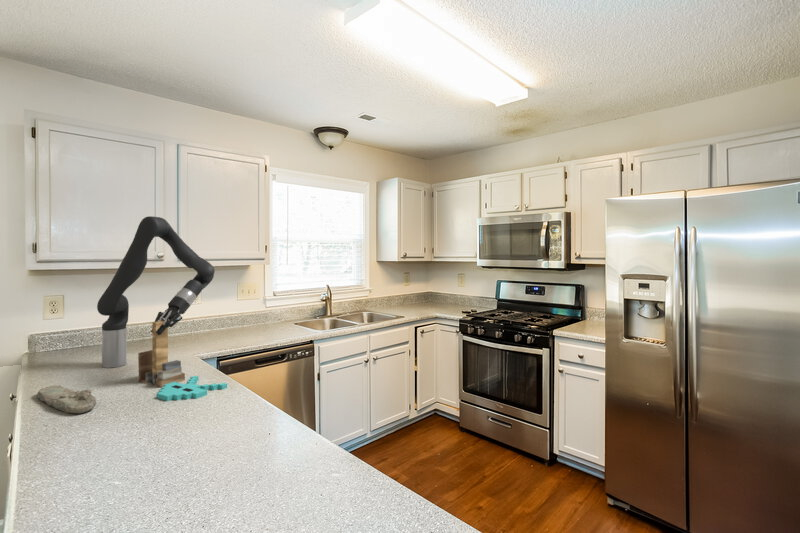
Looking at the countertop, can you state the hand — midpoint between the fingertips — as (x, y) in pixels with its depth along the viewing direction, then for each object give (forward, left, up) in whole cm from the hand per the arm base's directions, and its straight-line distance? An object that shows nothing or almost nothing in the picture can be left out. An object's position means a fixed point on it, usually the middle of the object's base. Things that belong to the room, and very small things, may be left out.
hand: (155, 333), depth 163 cm
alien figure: (+21, -1, -21) cm, 30 cm away
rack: (-2, +2, -20) cm, 20 cm away
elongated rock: (-6, -28, -21) cm, 36 cm away
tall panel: (0, +2, -17) cm, 18 cm away
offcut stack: (+7, +2, -20) cm, 21 cm away
